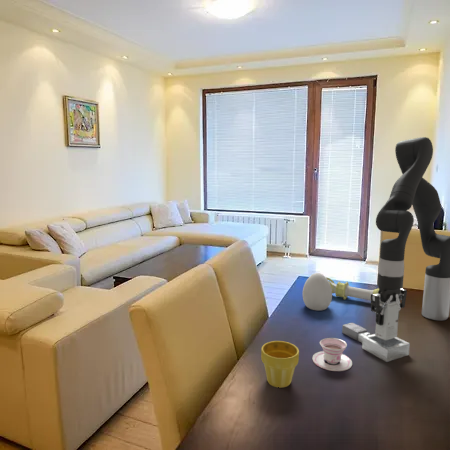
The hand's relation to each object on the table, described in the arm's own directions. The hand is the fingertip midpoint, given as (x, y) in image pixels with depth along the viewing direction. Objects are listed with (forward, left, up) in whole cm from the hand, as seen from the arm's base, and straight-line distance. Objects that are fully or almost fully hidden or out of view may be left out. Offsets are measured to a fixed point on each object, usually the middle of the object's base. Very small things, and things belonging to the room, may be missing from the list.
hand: (387, 322), depth 125 cm
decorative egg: (-6, -41, -10) cm, 43 cm away
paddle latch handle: (0, -6, -10) cm, 12 cm away
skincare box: (0, 0, -5) cm, 5 cm away
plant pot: (+41, -1, -10) cm, 42 cm away
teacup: (+20, -3, -10) cm, 23 cm away
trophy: (-25, -43, -11) cm, 51 cm away
